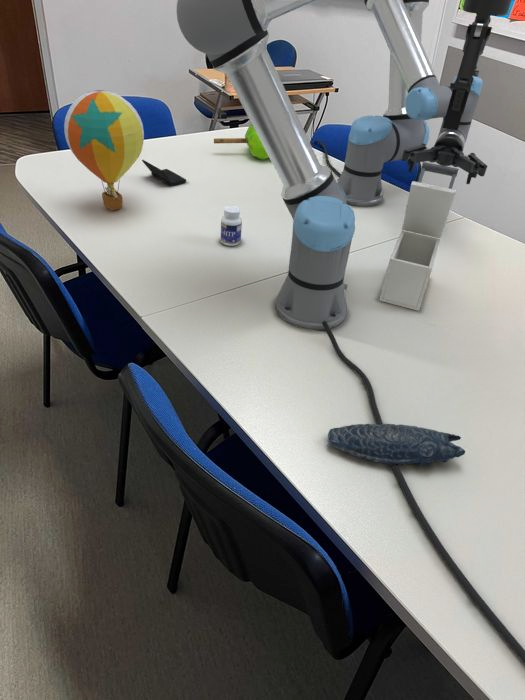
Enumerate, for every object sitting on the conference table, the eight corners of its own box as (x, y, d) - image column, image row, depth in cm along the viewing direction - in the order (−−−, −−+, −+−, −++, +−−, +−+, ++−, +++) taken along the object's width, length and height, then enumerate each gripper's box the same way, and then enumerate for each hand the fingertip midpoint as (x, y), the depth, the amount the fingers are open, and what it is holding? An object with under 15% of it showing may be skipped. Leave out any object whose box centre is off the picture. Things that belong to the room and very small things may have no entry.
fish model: (463, 478, 79) (473, 457, 76) (326, 461, 80) (331, 439, 77) (455, 446, 85) (464, 424, 82) (326, 429, 86) (331, 408, 83)
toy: (64, 203, 145) (44, 85, 127) (127, 189, 156) (117, 79, 137) (97, 229, 134) (80, 105, 116) (162, 213, 145) (156, 96, 126)
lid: (455, 193, 105) (464, 162, 108) (411, 184, 108) (421, 153, 110) (440, 238, 120) (449, 209, 123) (401, 229, 122) (410, 201, 125)
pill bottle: (217, 243, 133) (217, 210, 128) (225, 235, 137) (226, 203, 132) (236, 248, 132) (237, 215, 127) (243, 239, 136) (245, 207, 131)
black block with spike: (190, 175, 164) (173, 153, 156) (179, 193, 163) (161, 172, 155) (166, 170, 170) (147, 148, 162) (155, 188, 169) (136, 167, 161)
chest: (418, 311, 116) (432, 268, 109) (379, 300, 118) (389, 258, 111) (427, 279, 127) (440, 239, 121) (391, 270, 130) (401, 230, 123)
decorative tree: (211, 118, 187) (292, 118, 192) (211, 148, 193) (289, 147, 198) (217, 133, 173) (303, 132, 178) (217, 164, 179) (301, 163, 185)
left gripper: (473, -20, 96) (440, 103, 110) (463, -14, 78) (425, 132, 91) (515, -15, 95) (477, 109, 108) (515, -9, 76) (469, 140, 89)
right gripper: (492, 171, 137) (489, 199, 121) (398, 153, 143) (384, 177, 127) (502, 142, 132) (500, 167, 117) (405, 124, 138) (391, 146, 123)
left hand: (453, 120), depth 100 cm, fingers open, 13 cm apart
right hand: (439, 172), depth 122 cm, fingers open, 13 cm apart
